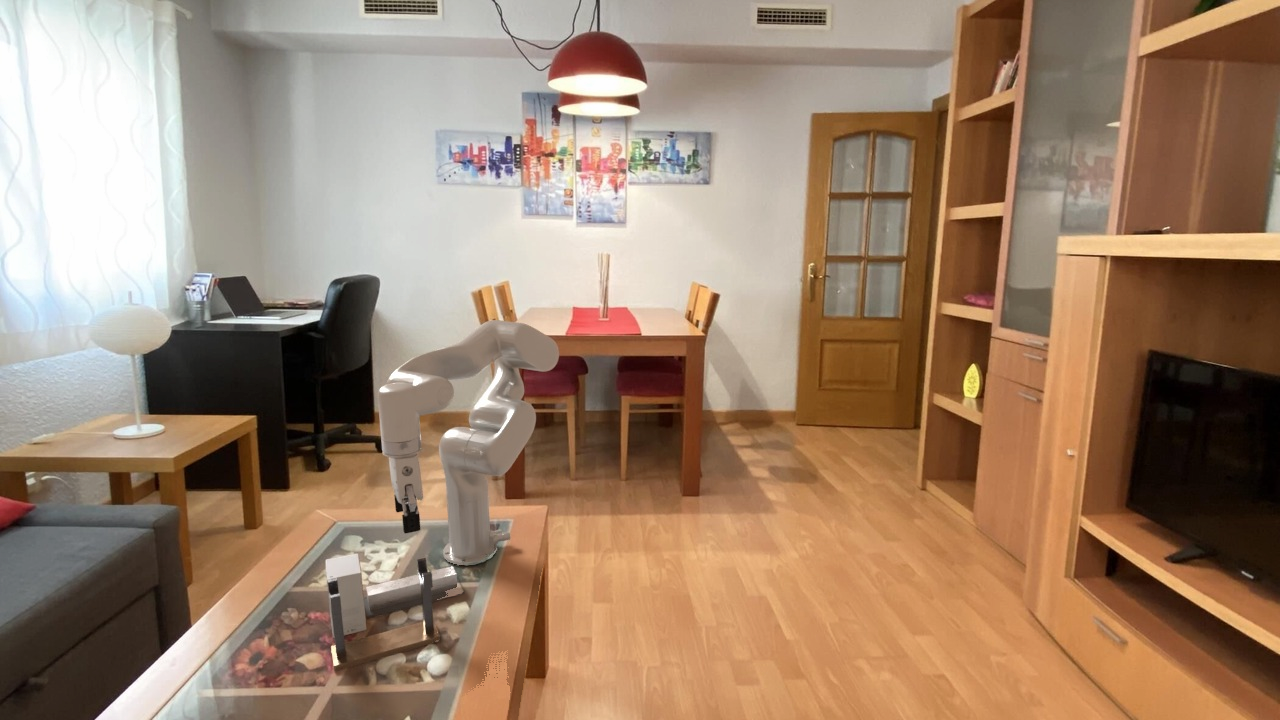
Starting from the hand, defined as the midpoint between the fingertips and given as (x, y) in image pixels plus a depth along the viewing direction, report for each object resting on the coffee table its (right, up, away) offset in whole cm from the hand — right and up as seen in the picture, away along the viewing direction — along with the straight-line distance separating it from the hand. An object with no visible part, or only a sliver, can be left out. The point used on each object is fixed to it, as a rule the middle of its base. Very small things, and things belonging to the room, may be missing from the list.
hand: (407, 520), depth 143 cm
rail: (0, -17, +5) cm, 18 cm away
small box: (-11, -20, -4) cm, 23 cm away
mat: (0, -18, +5) cm, 18 cm away
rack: (-1, -22, -11) cm, 24 cm away
